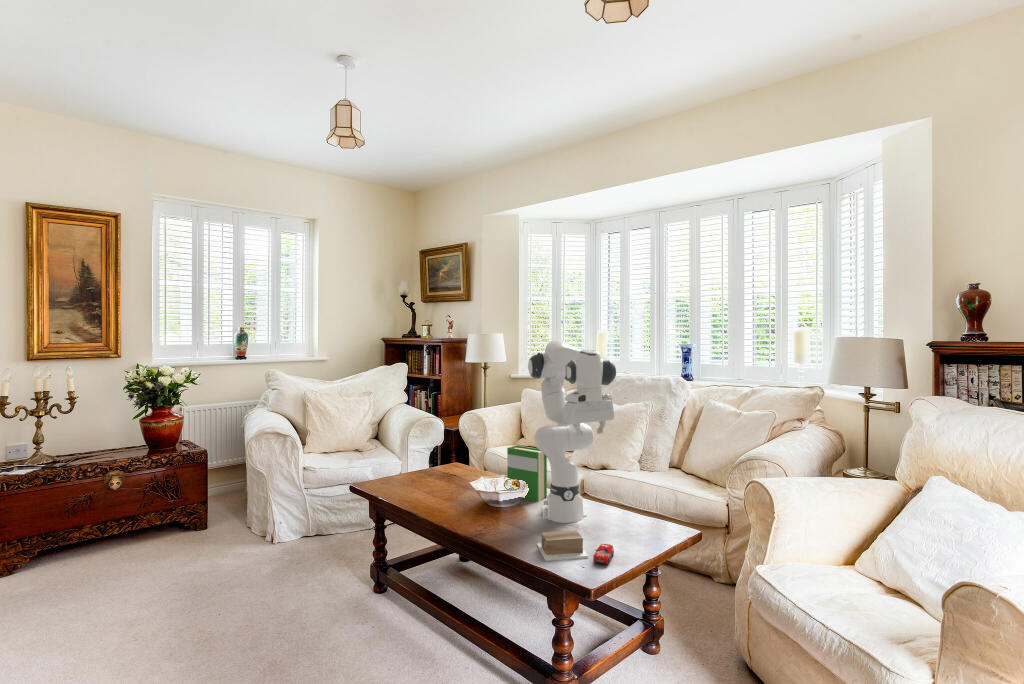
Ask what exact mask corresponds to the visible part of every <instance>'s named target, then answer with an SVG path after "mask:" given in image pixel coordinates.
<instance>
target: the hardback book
mask: <svg viewBox="0 0 1024 684" xmlns="http://www.w3.org/2000/svg"><path fill="white" fill-rule="evenodd" d="M506 449H507V451H506V453H507V457H506V458H507V462H506V463H507V470H506V471H507V478H510V479H517V480H523V481H525V482H526V484H528V488H529V491H528V493H527V495H526V496H525V499H524V500H529V501H533V502H536V503H538V502H540V501H542V500H544V499H547V496H548V478H547V477H548V476H547V475H548V473H547V471H548V470H547V469H548V468H547V467H548V464H547V463H548V458H547V456H546V455H545V454H544V453H543V452H542V451H540V450H539V449H538V448H537V447H530V446H529V447H528V446H523V445H517V444H516V445H512V446H510V447H509V446H508V447H507V448H506Z"/></svg>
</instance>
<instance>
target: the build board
mask: <svg viewBox="0 0 1024 684" xmlns="http://www.w3.org/2000/svg"><path fill="white" fill-rule="evenodd" d="M536 545H537V546H536V547H538V549H539V551H540V553H541V555H542V557H543V559H544V561H545V562H548V561H564V560H567V561H568V560H581V559H589V554H588V553H587V552H586V551H585V549H584V548H583V553H569V554H554V555H546V553H545V552H544V550H543V548H542V546H541V542H538V543H536Z"/></svg>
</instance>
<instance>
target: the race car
mask: <svg viewBox="0 0 1024 684" xmlns="http://www.w3.org/2000/svg"><path fill="white" fill-rule="evenodd" d="M594 551H595V552H594V554H593V559H592V560H593V562H594V563H598V564H607V565H609V563H610V561H611V559H612V557H614V553H615V551H614V546H613V544H609V543H600V545H598V548H596V549H594Z"/></svg>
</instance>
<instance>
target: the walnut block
mask: <svg viewBox="0 0 1024 684" xmlns="http://www.w3.org/2000/svg"><path fill="white" fill-rule="evenodd" d="M540 541H541V542H540V543H541V546H542V548H543V550H544V552H545V553H546V555H554V554H569V553H583V549H584V546H583V545H584V538H583V536H582V535H581V534H580V533H579V532H578V530H577V529H576V530H575V529H572V530H556V531H542V532H541V540H540Z"/></svg>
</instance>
